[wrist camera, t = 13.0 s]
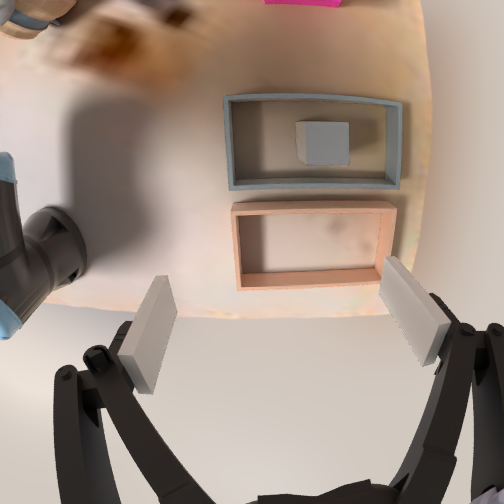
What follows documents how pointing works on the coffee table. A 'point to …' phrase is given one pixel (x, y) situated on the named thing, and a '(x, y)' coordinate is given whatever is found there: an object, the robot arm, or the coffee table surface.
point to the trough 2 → (314, 277)
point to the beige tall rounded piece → (30, 16)
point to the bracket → (307, 2)
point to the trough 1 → (280, 183)
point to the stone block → (322, 142)
